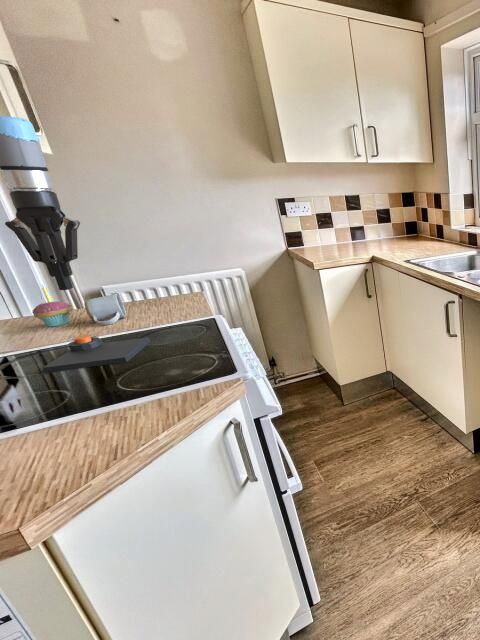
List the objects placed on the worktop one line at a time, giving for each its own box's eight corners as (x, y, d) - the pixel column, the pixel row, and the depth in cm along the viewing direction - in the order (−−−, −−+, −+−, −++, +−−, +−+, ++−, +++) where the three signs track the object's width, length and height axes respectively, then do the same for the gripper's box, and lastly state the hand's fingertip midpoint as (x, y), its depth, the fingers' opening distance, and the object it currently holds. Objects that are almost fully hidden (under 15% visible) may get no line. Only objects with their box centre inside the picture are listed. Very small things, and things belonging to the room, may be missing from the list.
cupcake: (41, 324, 132) (23, 286, 127) (78, 317, 137) (62, 281, 132) (38, 331, 126) (19, 292, 121) (77, 323, 131) (60, 286, 126)
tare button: (73, 345, 108) (71, 339, 107) (80, 341, 111) (78, 335, 110) (88, 343, 109) (86, 338, 108) (94, 339, 111) (92, 334, 111)
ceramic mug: (94, 319, 135) (84, 296, 132) (127, 313, 140) (118, 291, 137) (90, 328, 127) (79, 304, 124) (125, 322, 132) (116, 299, 129)
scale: (44, 373, 99) (39, 361, 98) (80, 349, 112) (75, 338, 111) (127, 362, 104) (122, 351, 103) (152, 340, 117) (148, 330, 116)
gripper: (76, 190, 104) (106, 284, 112) (6, 190, 100) (42, 287, 108) (58, 190, 98) (91, 290, 106) (-18, 189, 93) (22, 294, 101)
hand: (66, 289), depth 107 cm, fingers closed
